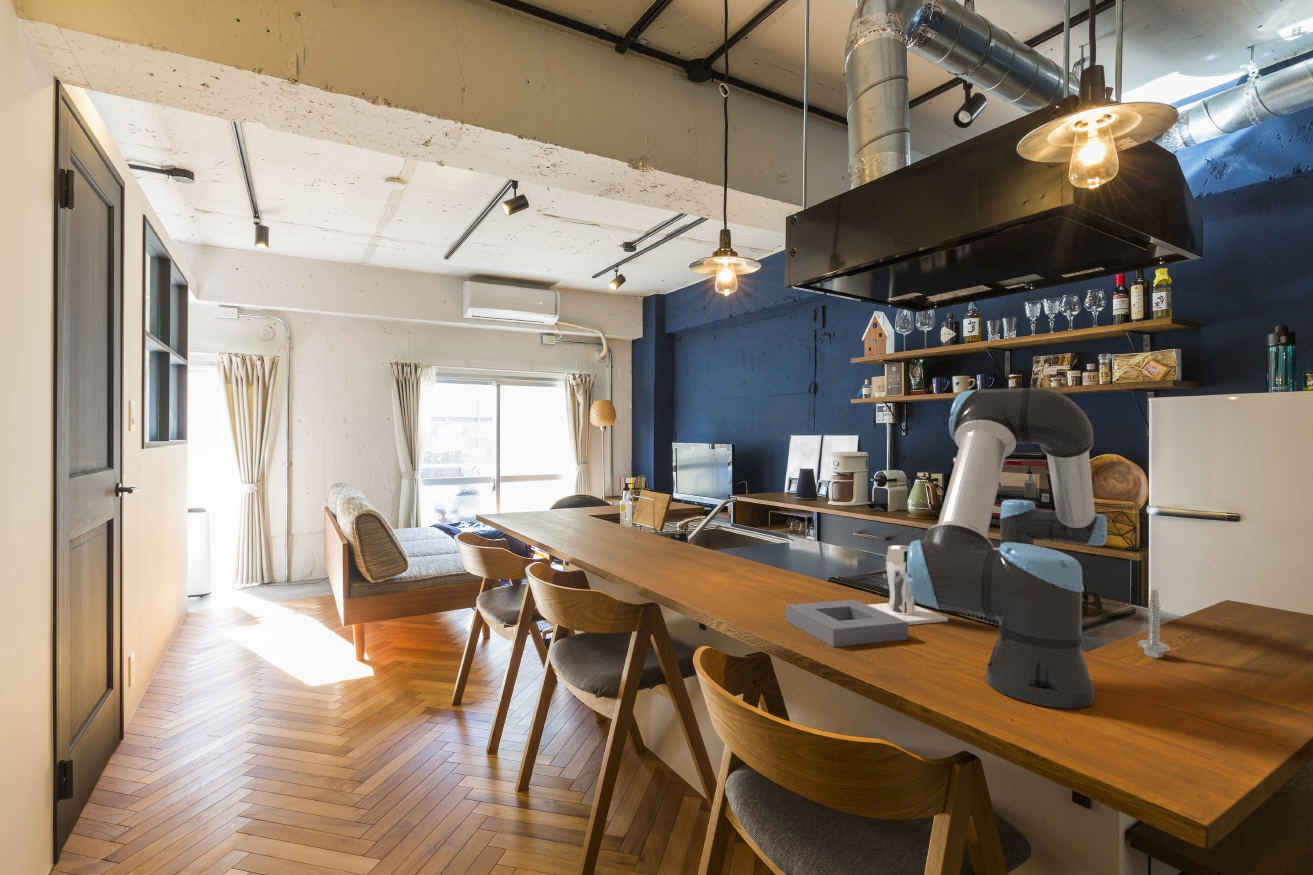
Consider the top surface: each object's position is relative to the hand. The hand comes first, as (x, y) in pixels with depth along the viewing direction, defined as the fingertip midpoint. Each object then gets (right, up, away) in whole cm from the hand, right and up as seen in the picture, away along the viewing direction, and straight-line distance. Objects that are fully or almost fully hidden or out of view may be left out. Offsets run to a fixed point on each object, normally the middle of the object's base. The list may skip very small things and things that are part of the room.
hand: (917, 568), depth 145 cm
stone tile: (-5, -11, -2) cm, 12 cm away
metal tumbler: (-4, -10, -2) cm, 11 cm away
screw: (+34, -11, -27) cm, 45 cm away
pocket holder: (-22, -10, -14) cm, 28 cm away
